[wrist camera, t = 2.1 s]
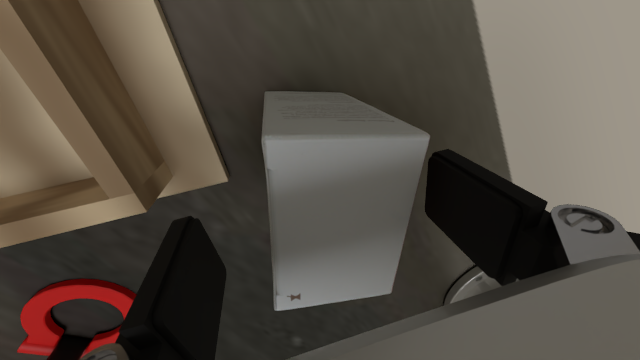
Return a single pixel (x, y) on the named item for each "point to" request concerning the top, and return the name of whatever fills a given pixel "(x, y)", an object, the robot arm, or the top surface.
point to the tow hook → (49, 335)
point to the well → (94, 116)
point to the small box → (336, 195)
